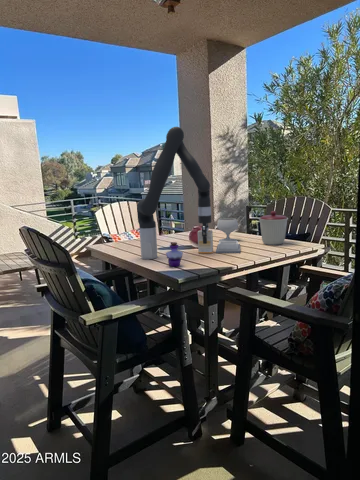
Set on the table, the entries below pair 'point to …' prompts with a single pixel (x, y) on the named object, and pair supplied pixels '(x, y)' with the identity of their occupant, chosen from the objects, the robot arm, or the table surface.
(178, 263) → the potion bottle
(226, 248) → the grey pedestal stand
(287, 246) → the table surface
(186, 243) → the table surface
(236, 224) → the chalice
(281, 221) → the canister
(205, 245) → the supplement box
